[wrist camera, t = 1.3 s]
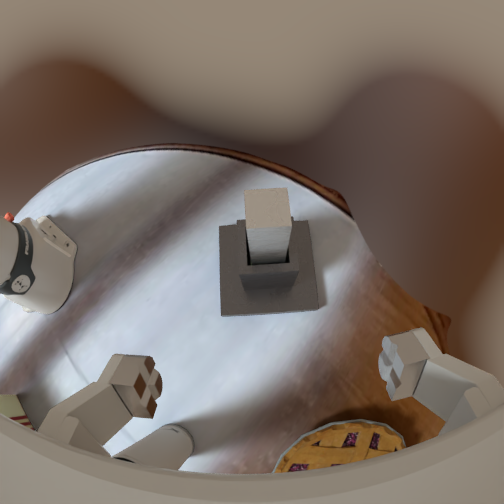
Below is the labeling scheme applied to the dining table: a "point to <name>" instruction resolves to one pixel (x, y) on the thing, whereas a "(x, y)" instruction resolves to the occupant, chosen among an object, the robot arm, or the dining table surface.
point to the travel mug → (160, 448)
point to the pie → (339, 445)
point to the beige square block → (267, 225)
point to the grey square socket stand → (266, 275)
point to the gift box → (14, 410)
